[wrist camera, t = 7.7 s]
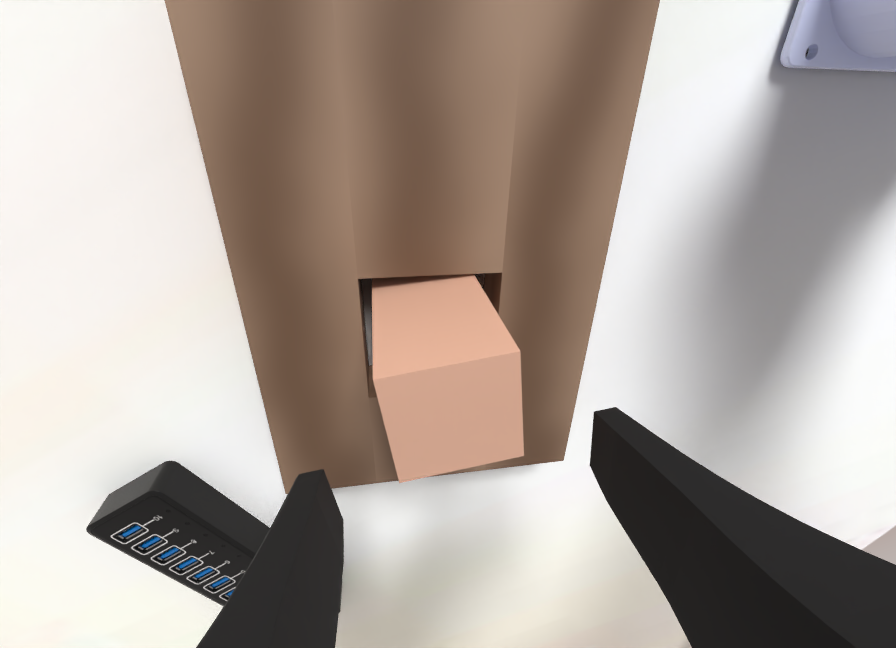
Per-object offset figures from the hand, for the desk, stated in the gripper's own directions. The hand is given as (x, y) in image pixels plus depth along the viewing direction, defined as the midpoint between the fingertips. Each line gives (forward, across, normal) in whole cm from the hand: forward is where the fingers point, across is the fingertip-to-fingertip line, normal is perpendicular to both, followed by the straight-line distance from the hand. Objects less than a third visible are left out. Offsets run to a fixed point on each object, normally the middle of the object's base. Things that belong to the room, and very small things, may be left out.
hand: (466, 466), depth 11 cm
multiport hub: (+10, +13, +13) cm, 21 cm away
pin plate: (+9, 0, -2) cm, 10 cm away
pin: (+9, 0, 0) cm, 9 cm away
